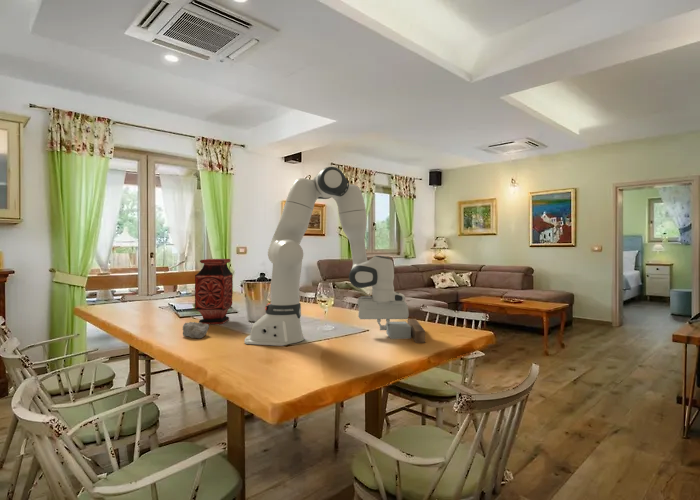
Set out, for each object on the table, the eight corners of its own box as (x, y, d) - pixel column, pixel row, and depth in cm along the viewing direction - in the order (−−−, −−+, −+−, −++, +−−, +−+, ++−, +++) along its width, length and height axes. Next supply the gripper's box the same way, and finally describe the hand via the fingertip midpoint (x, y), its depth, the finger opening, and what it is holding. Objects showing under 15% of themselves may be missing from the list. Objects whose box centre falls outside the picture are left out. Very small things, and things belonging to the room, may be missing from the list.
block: (390, 339, 157) (390, 326, 157) (386, 333, 167) (386, 321, 167) (410, 339, 158) (410, 326, 157) (405, 333, 168) (405, 321, 167)
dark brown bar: (415, 343, 150) (415, 331, 150) (407, 329, 174) (407, 318, 174) (425, 343, 150) (425, 331, 150) (415, 329, 174) (415, 318, 174)
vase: (224, 325, 185) (223, 259, 184) (194, 325, 185) (193, 259, 184) (233, 319, 199) (232, 258, 198) (205, 319, 199) (205, 258, 198)
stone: (177, 339, 159) (177, 324, 159) (187, 334, 167) (187, 320, 167) (201, 339, 158) (201, 324, 158) (210, 335, 166) (210, 320, 166)
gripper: (357, 297, 159) (357, 331, 160) (409, 296, 159) (409, 331, 159) (357, 295, 166) (357, 328, 166) (407, 294, 165) (407, 328, 166)
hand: (383, 330), depth 163 cm, fingers closed
